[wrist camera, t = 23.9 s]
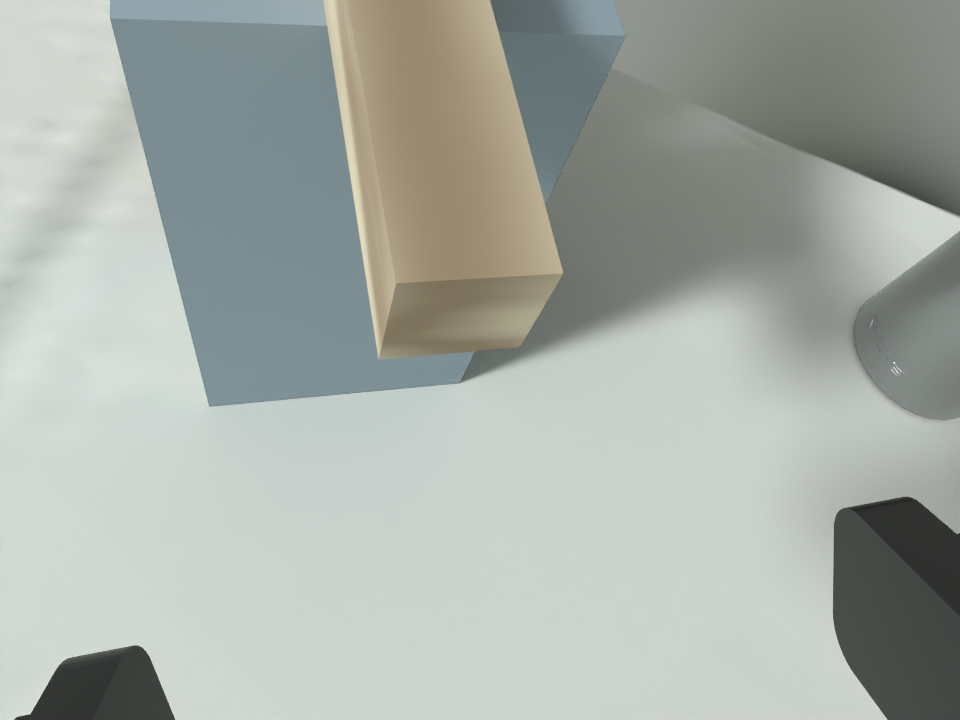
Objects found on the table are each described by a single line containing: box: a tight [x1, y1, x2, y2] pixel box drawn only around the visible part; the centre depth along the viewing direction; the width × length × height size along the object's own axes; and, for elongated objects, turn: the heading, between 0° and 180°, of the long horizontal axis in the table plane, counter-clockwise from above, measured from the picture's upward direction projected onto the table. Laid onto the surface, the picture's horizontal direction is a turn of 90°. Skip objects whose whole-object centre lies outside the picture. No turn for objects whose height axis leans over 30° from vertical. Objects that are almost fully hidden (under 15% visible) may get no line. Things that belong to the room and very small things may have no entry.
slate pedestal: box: [110, 0, 626, 406], centre depth 32 cm, size 13×10×24 cm
